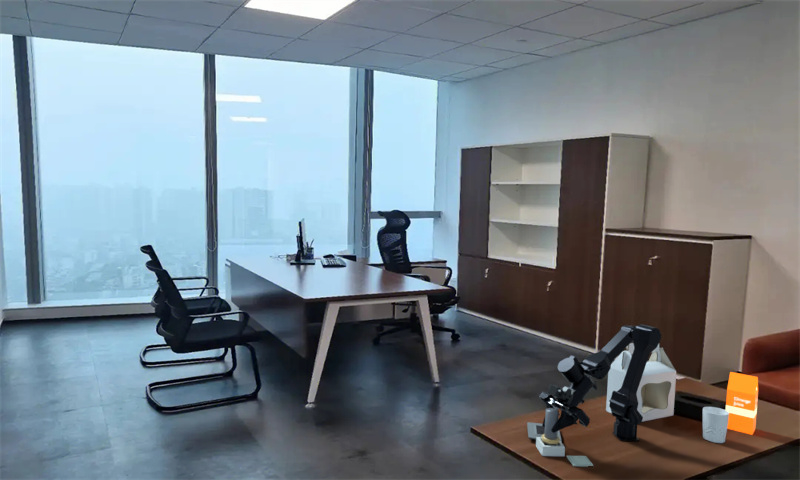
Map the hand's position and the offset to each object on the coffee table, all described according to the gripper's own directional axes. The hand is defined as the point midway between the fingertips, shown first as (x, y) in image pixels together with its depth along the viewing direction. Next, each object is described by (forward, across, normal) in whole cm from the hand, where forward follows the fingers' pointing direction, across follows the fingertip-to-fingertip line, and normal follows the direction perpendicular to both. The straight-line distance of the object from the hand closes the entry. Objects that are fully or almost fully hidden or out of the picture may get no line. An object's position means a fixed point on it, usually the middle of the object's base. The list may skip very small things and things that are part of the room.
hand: (547, 429), depth 173 cm
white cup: (-39, +12, +50) cm, 64 cm away
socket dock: (+4, 0, +6) cm, 8 cm away
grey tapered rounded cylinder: (+4, 0, +6) cm, 7 cm away
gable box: (-35, -15, +46) cm, 60 cm away
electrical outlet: (+1, -10, +11) cm, 15 cm away
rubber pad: (+2, +9, +9) cm, 13 cm away
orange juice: (-52, +8, +63) cm, 82 cm away
